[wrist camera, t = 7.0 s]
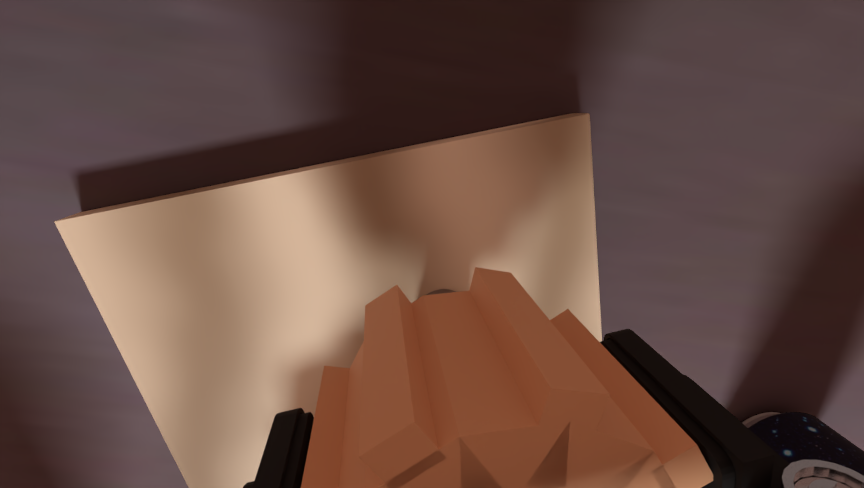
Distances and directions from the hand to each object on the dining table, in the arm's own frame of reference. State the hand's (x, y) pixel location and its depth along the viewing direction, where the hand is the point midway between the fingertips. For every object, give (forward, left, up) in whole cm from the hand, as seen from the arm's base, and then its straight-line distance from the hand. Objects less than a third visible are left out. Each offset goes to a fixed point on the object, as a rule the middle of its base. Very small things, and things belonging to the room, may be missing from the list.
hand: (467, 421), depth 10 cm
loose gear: (0, 0, -1) cm, 1 cm away
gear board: (+2, +5, -7) cm, 9 cm away
